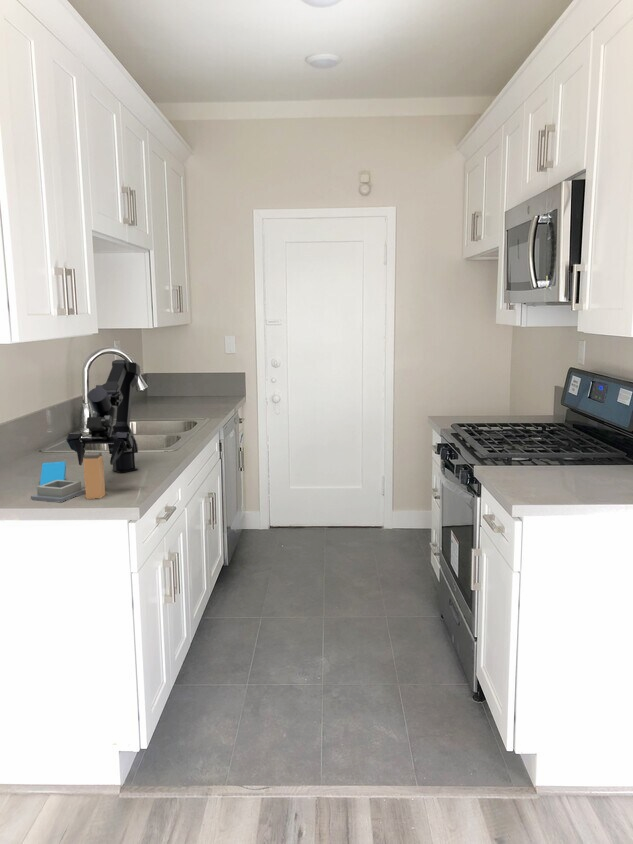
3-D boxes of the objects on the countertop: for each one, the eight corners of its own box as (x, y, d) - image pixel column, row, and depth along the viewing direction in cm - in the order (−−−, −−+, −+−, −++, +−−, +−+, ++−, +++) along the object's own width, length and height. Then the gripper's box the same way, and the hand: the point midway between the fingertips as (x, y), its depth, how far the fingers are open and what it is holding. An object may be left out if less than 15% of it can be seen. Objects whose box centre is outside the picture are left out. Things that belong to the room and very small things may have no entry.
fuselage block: (90, 494, 205) (87, 452, 203) (105, 494, 205) (102, 452, 203) (86, 498, 200) (82, 455, 198) (101, 498, 201) (97, 455, 198)
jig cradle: (58, 489, 212) (57, 478, 211) (88, 491, 208) (87, 480, 208) (30, 499, 201) (29, 488, 200) (61, 502, 197) (60, 490, 196)
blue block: (65, 502, 214) (67, 474, 230) (63, 483, 211) (65, 456, 227) (42, 504, 212) (45, 476, 228) (40, 485, 209) (43, 457, 225)
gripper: (66, 406, 205) (55, 450, 196) (128, 405, 206) (120, 448, 197) (76, 428, 215) (67, 470, 205) (136, 427, 215) (129, 469, 206)
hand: (95, 464), depth 203 cm, fingers open, 9 cm apart
